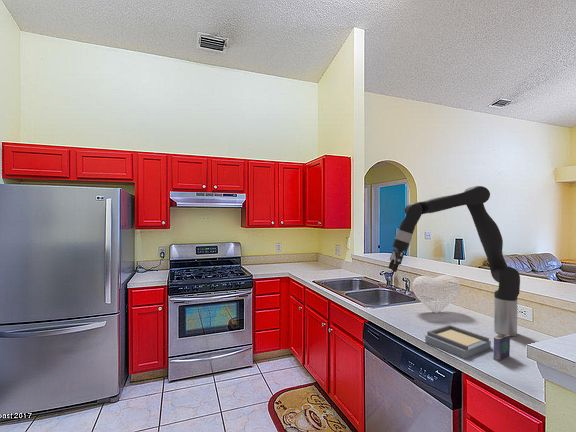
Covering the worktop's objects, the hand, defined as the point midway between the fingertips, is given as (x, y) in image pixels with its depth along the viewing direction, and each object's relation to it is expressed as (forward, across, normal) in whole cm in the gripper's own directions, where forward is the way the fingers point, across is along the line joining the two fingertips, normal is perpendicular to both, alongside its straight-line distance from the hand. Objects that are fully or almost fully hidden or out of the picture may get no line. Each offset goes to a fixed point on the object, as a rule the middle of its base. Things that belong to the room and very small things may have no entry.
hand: (392, 270), depth 153 cm
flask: (+17, -25, -46) cm, 55 cm away
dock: (+21, -15, -34) cm, 42 cm away
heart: (+18, +30, -39) cm, 53 cm away
